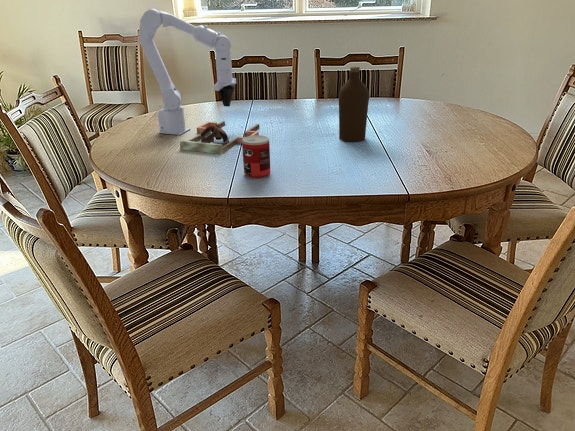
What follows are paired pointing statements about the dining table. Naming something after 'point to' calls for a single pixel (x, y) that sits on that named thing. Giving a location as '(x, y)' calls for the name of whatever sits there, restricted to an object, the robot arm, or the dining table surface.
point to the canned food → (256, 156)
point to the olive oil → (353, 108)
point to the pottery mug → (214, 134)
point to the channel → (210, 147)
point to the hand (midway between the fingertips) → (226, 106)
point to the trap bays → (207, 124)
